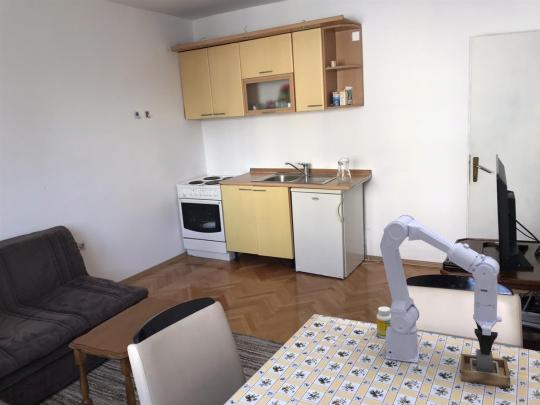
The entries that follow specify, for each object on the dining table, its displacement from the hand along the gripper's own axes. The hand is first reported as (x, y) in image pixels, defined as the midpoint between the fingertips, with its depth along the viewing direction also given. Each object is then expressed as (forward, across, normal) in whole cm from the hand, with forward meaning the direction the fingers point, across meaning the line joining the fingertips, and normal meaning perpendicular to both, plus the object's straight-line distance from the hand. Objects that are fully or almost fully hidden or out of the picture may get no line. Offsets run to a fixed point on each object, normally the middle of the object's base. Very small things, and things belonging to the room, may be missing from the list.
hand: (484, 347), depth 125 cm
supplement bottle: (+9, +17, +30) cm, 35 cm away
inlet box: (+8, 0, 0) cm, 8 cm away
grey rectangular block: (+8, 0, 0) cm, 8 cm away
